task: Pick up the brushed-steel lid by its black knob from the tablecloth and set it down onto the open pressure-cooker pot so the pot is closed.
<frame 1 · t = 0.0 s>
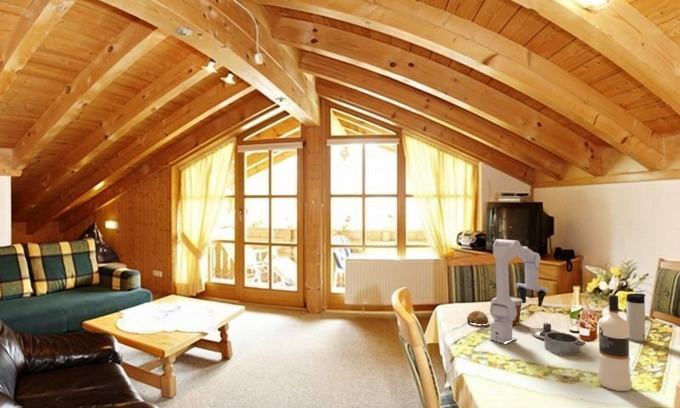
hand: (532, 304, 183), 10 cm above the table, tool pointing down, fingers open, 7 cm apart
travel mug: (636, 340, 162), on the table
disposable coffee cup: (512, 323, 187), on the table, touching gripper
lid: (547, 336, 168), on the table
pot: (561, 349, 154), on the table
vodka: (614, 386, 124), on the table
bread roll: (477, 324, 187), on the table
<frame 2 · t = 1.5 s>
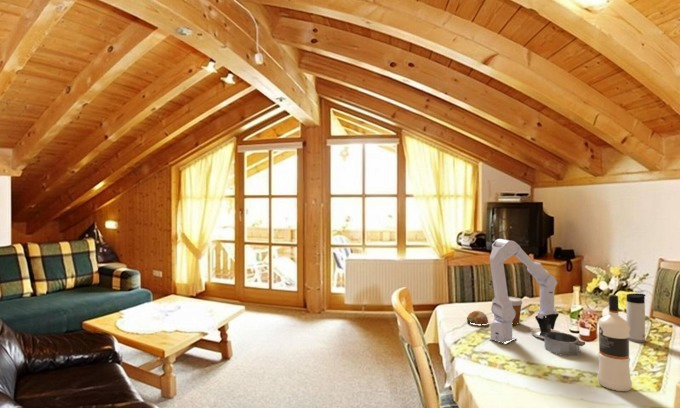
hand: (547, 330, 168), 2 cm above the table, tool pointing down, fingers open, 7 cm apart
disposable coffee cup: (512, 323, 187), on the table
everything else where it was.
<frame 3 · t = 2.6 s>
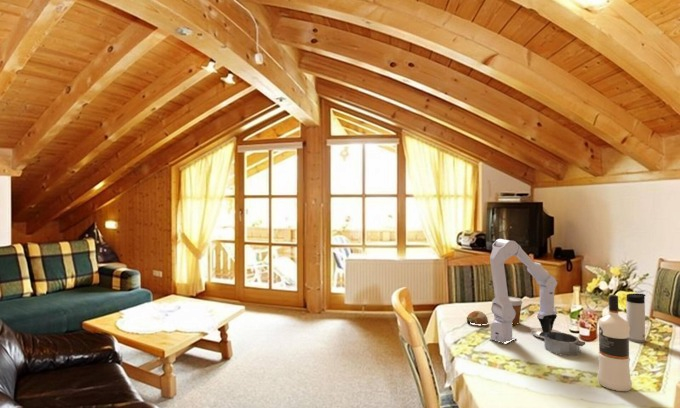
hand: (547, 331, 168), 2 cm above the table, tool pointing down, fingers closed on lid, 3 cm apart
lid: (547, 336, 168), on the table, touching gripper
everything else where it was.
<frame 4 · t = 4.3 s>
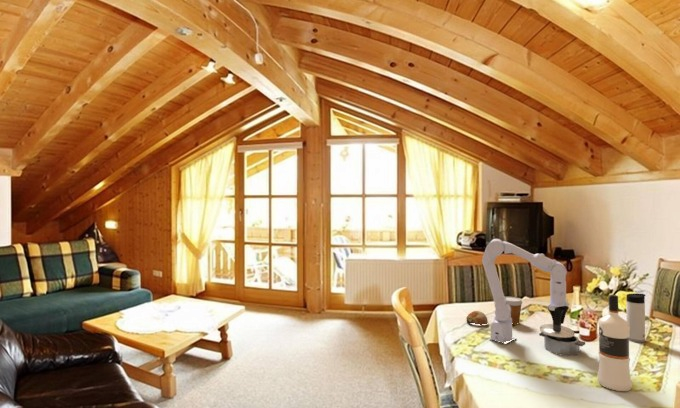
hand: (558, 324, 156), 9 cm above the table, tool pointing down, fingers closed on lid, 3 cm apart
lid: (556, 333, 157), point 5 cm above the table, touching gripper
everything else where it was.
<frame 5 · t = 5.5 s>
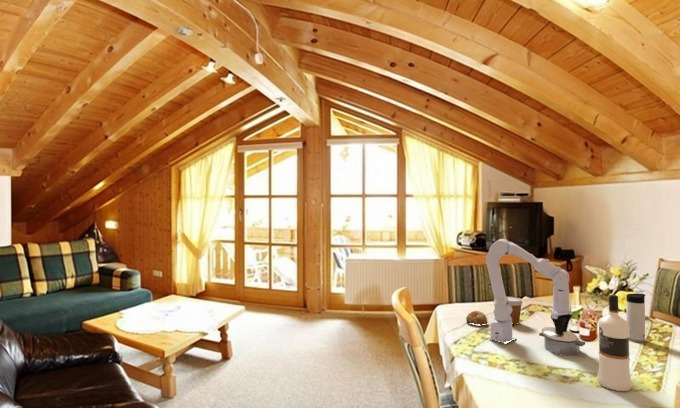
hand: (561, 332, 154), 7 cm above the table, tool pointing down, fingers closed on lid, 3 cm apart
lid: (558, 337, 155), point 5 cm above the table, touching gripper, pot
everything else where it was.
when the fingers open (7 cm above the table, at t = 5.7 s): lid stays where it is, resting on pot.
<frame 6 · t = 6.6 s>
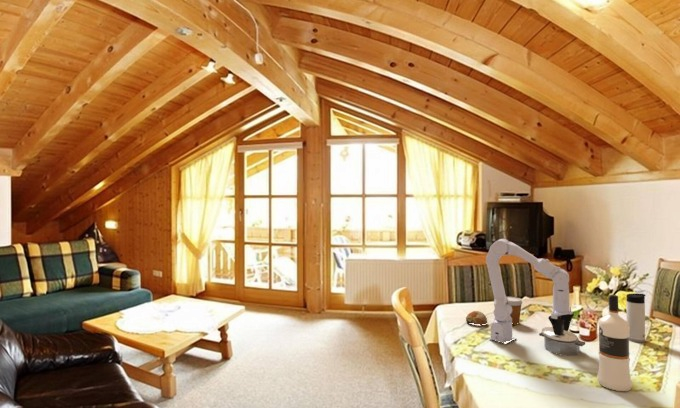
hand: (561, 332, 154), 7 cm above the table, tool pointing down, fingers open, 7 cm apart
lid: (558, 337, 155), point 5 cm above the table, touching pot
everything else where it was.
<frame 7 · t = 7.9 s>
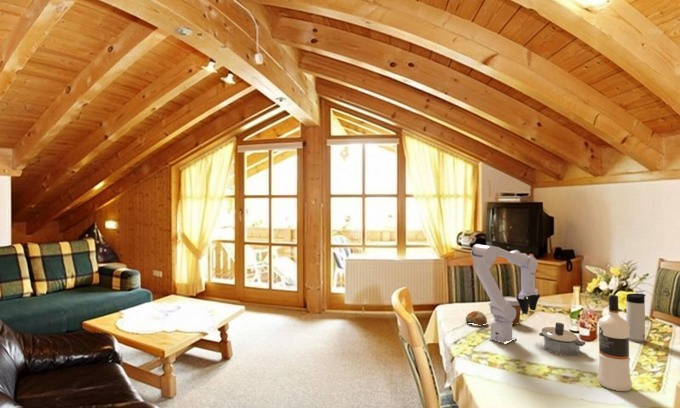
hand: (528, 311, 171), 10 cm above the table, tool pointing down, fingers open, 7 cm apart
nothing on the table moved.
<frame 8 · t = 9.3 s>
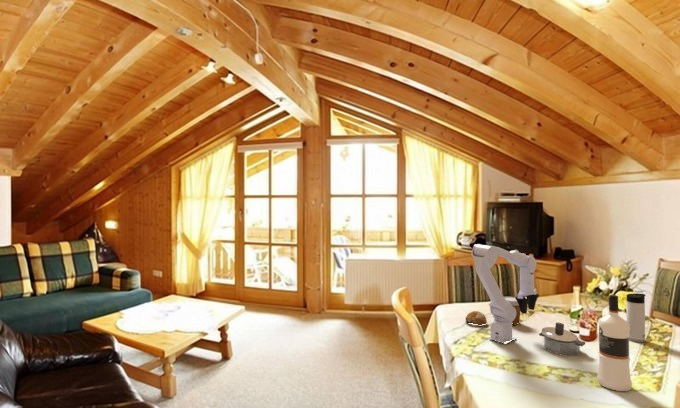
hand: (527, 311, 171), 10 cm above the table, tool pointing down, fingers open, 7 cm apart
nothing on the table moved.
at the end: lid 1.0 cm off-centre on the pot, point 4.7 cm above the pot's base; lid tilted 5°; the gripper is holding nothing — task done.
